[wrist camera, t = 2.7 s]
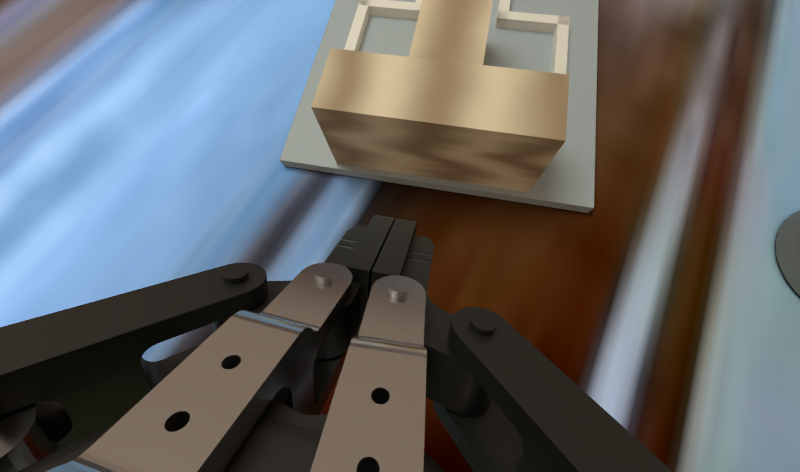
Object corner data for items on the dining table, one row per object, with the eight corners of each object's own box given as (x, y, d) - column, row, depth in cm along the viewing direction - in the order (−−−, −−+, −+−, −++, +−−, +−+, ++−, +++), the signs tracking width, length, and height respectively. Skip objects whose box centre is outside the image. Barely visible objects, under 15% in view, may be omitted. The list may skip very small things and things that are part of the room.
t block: (541, 48, 31) (575, -34, 24) (528, 192, 26) (565, 140, 20) (374, 31, 32) (363, -50, 26) (336, 163, 28) (311, 106, 21)
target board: (595, -55, 36) (604, -77, 34) (587, 213, 26) (600, 202, 25) (365, -70, 39) (362, -92, 37) (284, 165, 29) (274, 153, 27)
